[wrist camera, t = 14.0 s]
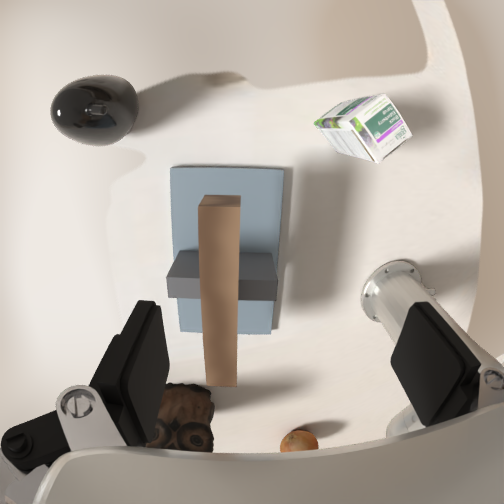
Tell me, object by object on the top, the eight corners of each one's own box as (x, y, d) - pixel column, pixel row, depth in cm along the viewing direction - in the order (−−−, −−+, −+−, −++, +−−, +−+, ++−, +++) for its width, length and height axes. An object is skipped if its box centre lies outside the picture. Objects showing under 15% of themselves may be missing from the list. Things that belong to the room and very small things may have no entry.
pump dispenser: (139, 149, 39) (91, 159, 25) (82, 140, 38) (21, 149, 24) (155, 83, 36) (113, 61, 21) (95, 78, 34) (38, 63, 20)
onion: (293, 445, 69) (297, 473, 60) (270, 434, 66) (273, 465, 57) (322, 431, 67) (328, 460, 57) (301, 419, 63) (307, 451, 54)
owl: (146, 388, 58) (126, 461, 39) (183, 366, 55) (167, 449, 37) (187, 416, 62) (177, 486, 43) (225, 397, 59) (223, 475, 41)
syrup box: (340, 101, 37) (385, 89, 24) (364, 132, 39) (415, 135, 26) (312, 123, 39) (346, 119, 25) (337, 154, 40) (379, 166, 27)
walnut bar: (240, 195, 32) (240, 207, 27) (236, 359, 42) (236, 386, 37) (205, 194, 32) (197, 206, 27) (209, 358, 42) (206, 385, 36)
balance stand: (283, 169, 41) (294, 180, 32) (270, 330, 52) (275, 369, 43) (172, 167, 41) (152, 177, 31) (181, 327, 51) (171, 365, 42)
